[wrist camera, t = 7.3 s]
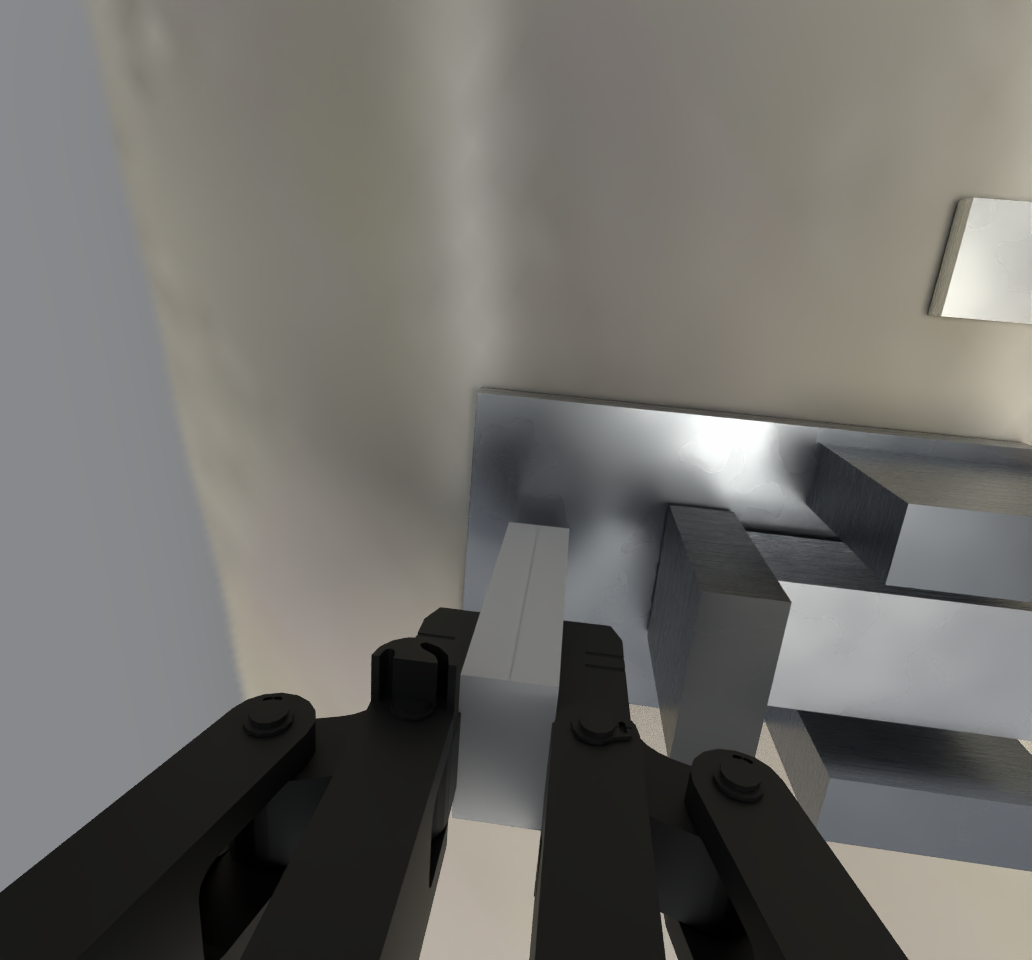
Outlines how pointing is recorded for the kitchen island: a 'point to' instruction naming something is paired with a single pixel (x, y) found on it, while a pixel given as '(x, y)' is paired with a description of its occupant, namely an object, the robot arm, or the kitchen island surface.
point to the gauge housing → (806, 514)
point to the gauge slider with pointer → (820, 641)
